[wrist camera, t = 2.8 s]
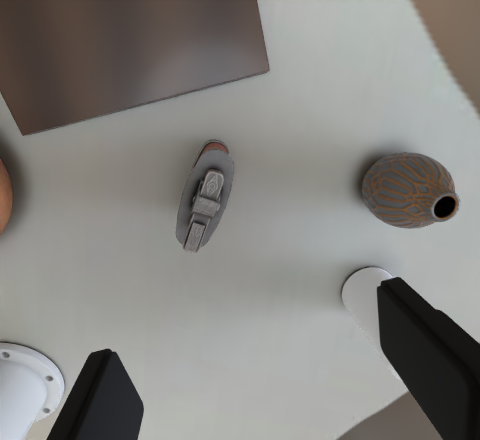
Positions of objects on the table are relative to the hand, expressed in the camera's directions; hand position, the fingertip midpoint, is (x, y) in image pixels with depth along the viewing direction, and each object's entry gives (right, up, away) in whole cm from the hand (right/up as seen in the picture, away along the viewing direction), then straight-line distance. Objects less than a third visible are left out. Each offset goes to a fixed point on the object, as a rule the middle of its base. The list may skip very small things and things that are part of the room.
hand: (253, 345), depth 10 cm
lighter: (-4, +8, +19) cm, 21 cm away
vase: (+15, +9, +21) cm, 27 cm away
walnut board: (-11, +22, +13) cm, 28 cm away
